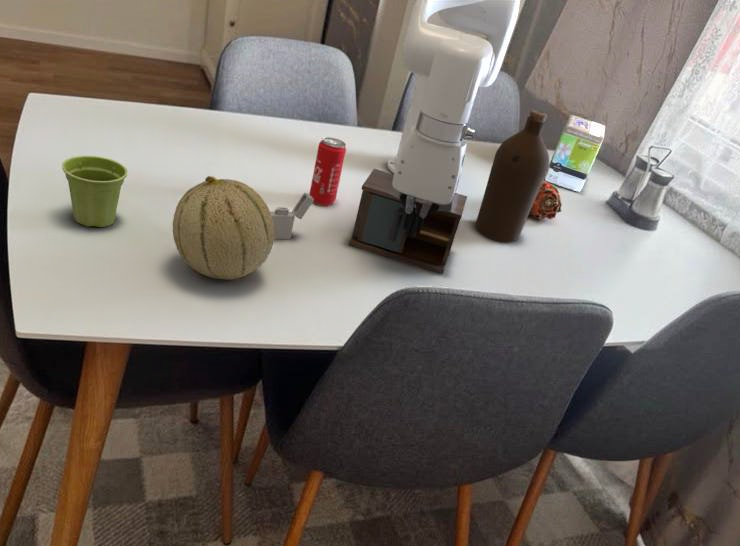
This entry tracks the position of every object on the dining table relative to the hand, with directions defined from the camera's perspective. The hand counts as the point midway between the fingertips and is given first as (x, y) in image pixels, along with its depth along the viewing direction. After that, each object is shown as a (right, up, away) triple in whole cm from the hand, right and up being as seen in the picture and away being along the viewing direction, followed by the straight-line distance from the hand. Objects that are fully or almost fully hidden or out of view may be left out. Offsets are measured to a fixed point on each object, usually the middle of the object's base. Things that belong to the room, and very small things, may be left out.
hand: (410, 234), depth 119 cm
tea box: (+45, +26, +68) cm, 86 cm away
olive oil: (+20, +5, +28) cm, 34 cm away
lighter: (-21, 0, +4) cm, 22 cm away
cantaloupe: (-30, -8, -10) cm, 33 cm away
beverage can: (-16, +10, +20) cm, 28 cm away
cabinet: (-1, 0, +11) cm, 12 cm away
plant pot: (-51, +1, -6) cm, 51 cm away
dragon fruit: (+30, +11, +41) cm, 52 cm away
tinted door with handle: (-5, -2, +5) cm, 8 cm away
